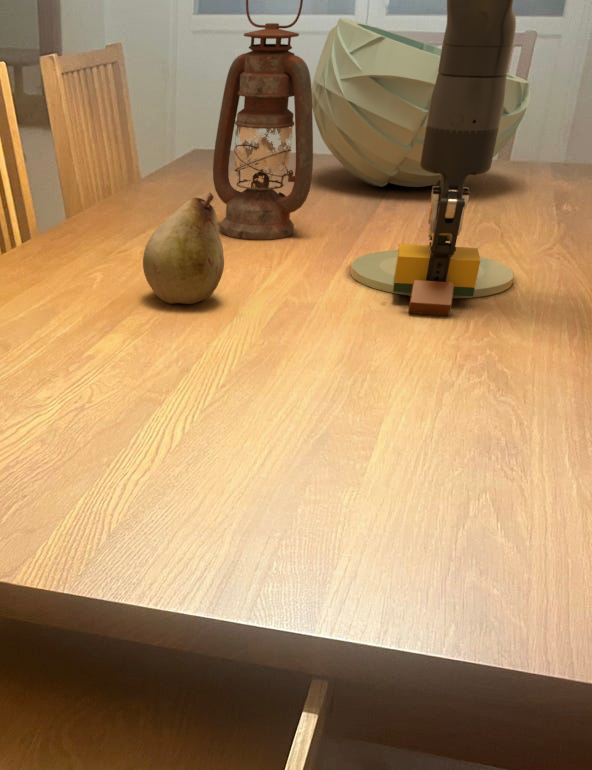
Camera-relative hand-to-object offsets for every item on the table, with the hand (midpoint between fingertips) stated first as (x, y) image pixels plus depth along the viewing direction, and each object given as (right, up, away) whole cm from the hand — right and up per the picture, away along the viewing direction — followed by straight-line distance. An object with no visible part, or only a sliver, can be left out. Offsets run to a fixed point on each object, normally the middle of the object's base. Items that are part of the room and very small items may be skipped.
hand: (433, 281), depth 114 cm
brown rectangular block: (-2, -4, -3) cm, 5 cm away
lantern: (-16, +19, +31) cm, 40 cm away
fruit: (-30, -2, +2) cm, 30 cm away
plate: (+3, +4, +10) cm, 11 cm away
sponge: (0, -1, 0) cm, 1 cm away
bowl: (+14, +39, +60) cm, 73 cm away
